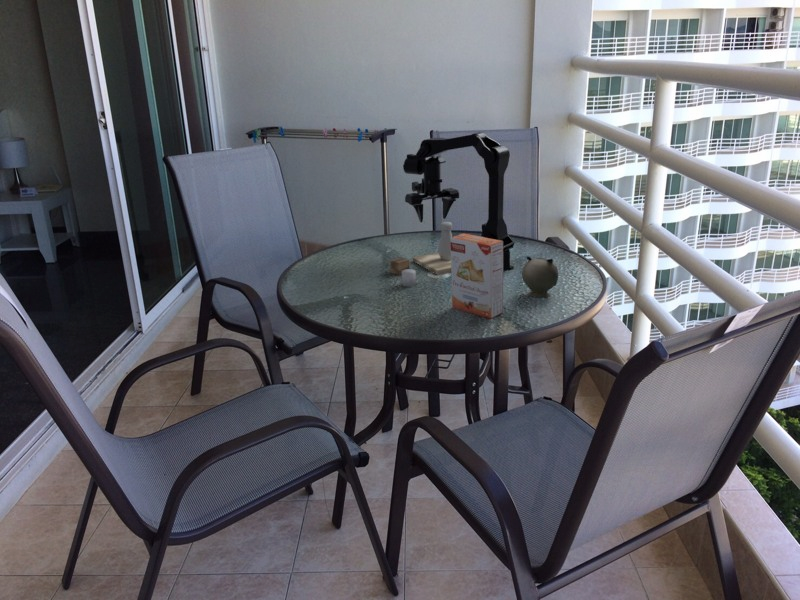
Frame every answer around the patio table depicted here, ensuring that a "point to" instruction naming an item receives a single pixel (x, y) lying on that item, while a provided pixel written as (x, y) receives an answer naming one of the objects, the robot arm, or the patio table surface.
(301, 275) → the patio table surface
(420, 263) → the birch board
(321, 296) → the patio table surface
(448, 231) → the salt shaker
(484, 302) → the cracker box
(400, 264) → the walnut block
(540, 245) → the patio table surface
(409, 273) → the white rounded cube
